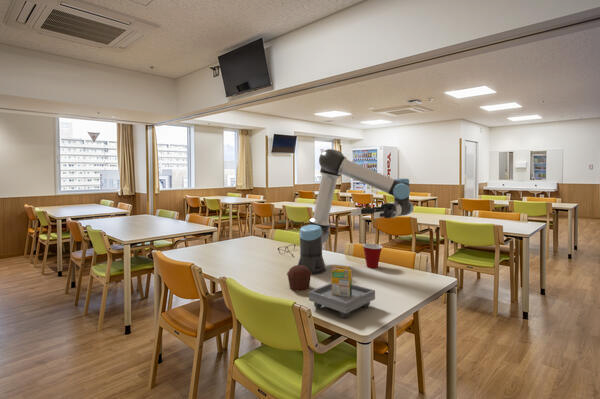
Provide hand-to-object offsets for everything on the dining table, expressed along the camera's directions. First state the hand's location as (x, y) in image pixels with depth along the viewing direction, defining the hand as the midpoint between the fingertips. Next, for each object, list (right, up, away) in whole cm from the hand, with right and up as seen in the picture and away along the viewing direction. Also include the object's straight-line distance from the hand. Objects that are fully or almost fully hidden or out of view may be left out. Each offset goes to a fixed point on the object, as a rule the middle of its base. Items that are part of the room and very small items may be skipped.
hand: (362, 214), depth 159 cm
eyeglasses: (-33, -28, +61) cm, 75 cm away
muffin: (-29, -33, -4) cm, 45 cm away
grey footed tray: (-13, -35, -27) cm, 46 cm away
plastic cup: (+10, -30, +27) cm, 41 cm away
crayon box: (-13, -30, -27) cm, 42 cm away
